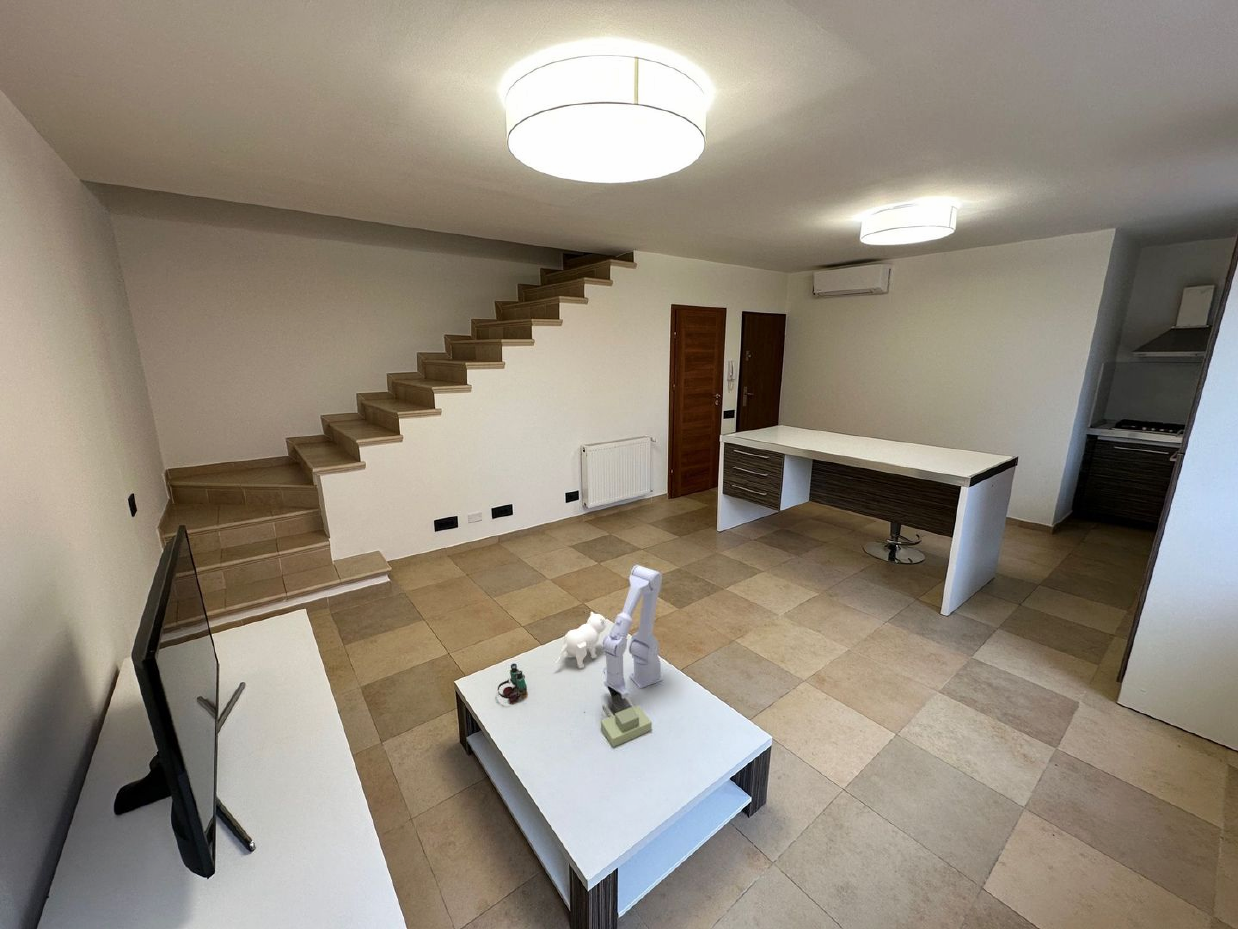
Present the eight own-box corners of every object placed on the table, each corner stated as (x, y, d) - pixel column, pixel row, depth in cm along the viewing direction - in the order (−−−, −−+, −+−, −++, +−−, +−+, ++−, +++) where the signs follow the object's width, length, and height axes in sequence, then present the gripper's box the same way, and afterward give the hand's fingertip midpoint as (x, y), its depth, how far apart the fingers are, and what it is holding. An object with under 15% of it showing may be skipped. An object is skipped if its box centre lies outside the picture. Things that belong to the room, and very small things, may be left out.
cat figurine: (563, 680, 180) (560, 641, 176) (548, 666, 188) (546, 628, 184) (615, 652, 196) (614, 615, 191) (600, 640, 203) (598, 605, 199)
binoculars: (491, 672, 171) (516, 659, 176) (496, 696, 174) (521, 682, 180) (501, 686, 164) (528, 671, 169) (507, 711, 167) (533, 695, 173)
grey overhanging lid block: (622, 704, 168) (622, 692, 167) (631, 715, 163) (630, 703, 161) (611, 709, 166) (610, 696, 165) (619, 720, 161) (618, 708, 159)
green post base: (627, 697, 171) (626, 683, 169) (651, 730, 157) (651, 714, 155) (590, 712, 165) (590, 697, 163) (612, 747, 150) (612, 731, 149)
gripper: (595, 660, 168) (596, 693, 172) (614, 685, 156) (615, 721, 159) (613, 654, 172) (614, 686, 175) (633, 678, 159) (633, 713, 163)
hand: (615, 702), depth 167 cm, fingers closed
